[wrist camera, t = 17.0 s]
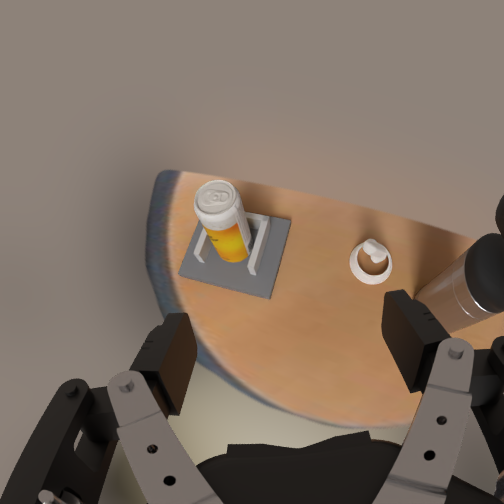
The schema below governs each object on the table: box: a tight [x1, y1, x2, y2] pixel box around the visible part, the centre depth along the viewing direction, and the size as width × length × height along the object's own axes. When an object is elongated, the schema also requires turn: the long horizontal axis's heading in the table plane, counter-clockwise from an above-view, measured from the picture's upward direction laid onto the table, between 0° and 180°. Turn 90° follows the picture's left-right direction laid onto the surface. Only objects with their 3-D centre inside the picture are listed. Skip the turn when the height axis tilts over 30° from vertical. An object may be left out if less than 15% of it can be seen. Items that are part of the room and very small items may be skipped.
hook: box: [350, 239, 392, 284], centre depth 43 cm, size 8×12×7 cm
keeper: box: [178, 212, 291, 299], centre depth 48 cm, size 16×14×5 cm
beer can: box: [194, 180, 253, 263], centre depth 43 cm, size 6×6×15 cm
